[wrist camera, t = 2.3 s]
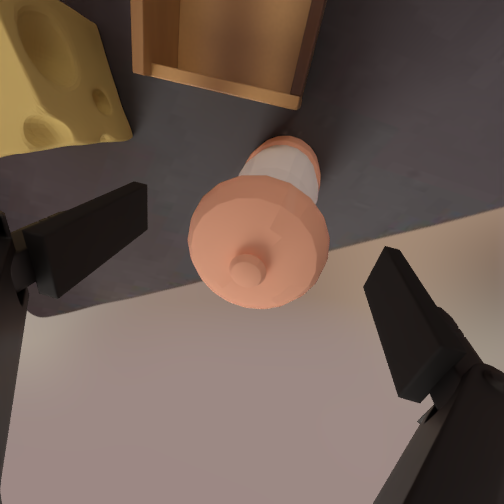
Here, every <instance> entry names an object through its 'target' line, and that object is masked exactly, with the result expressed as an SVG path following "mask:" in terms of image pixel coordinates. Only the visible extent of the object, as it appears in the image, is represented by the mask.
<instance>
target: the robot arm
mask: <svg viewBox="0 0 504 504" xmlns="http://www.w3.org/2000/svg"><path fill="white" fill-rule="evenodd" d="M146 230H147V185H146V184H142V183H138V182H132V183H129V184H127V185H125V186H123V187H120V188H118V189H116V190H113V191H111V192H109V193H106V194H104V195H102V196H100V197H97V198H95V199H93V200H90V201H88V202H86V203H83V204H81V205H79V206H77V207H74V208H72V209H70V210H67V211H63V212H58V213H56V214H53V215H51V216H49V217H47V218H44V219H42V220H39V222H35V223H32V224H30V225H27V226H25V227H23V228H20V229H18V230H16V231H13V232H11V233H10V230H9V226H8V223H7V220H6V217H5V213H4V212H2V211H0V485H1V476H2V469H3V463H4V457H5V450H6V444H7V437H8V430H9V424H10V417H11V410H12V404H13V398H14V390H15V384H16V377H17V371H18V364H19V358H20V352H21V345H22V338H23V332H24V326H25V319H26V312H27V306H28V299H29V292H28V288H27V287H28V286H29V285H31V284H33V283H34V282H36V283H37V287H38V290H39V294H43V295H46V296H50V297H53V298H56V299H58V298H60V297H61V296H62V295H63V294H65V293H66V292H67V291H69V290H70V289H71V288H72V287H74V286H75V285H76V284H78V283H79V282H80V281H81V280H83V279H84V278H85V277H87V276H88V275H89V274H91V273H92V272H93V271H94V270H96V269H97V268H98V267H100V266H101V265H102V264H103V263H105V262H106V261H107V260H109V259H110V258H111V257H112V256H114V255H115V254H116V253H118V252H119V251H120V250H121V249H123V248H124V247H125V246H127V245H128V244H129V243H131V242H132V241H133V240H134V239H136V238H137V237H138V236H140V235H141V234H142V233H143V232H145V231H146ZM363 288H364V291H365V294H366V297H367V300H368V303H369V307H370V310H371V313H372V316H373V319H374V322H375V325H376V328H377V331H378V334H379V338H380V341H381V344H382V347H383V350H384V353H385V356H386V360H387V363H388V366H389V369H390V372H391V375H392V378H393V381H394V385H395V387H396V391H397V394H398V397H400V398H403V399H407V400H411V401H414V402H417V403H421V402H422V401H423V400H424V398H425V397H426V396H427V395H428V394H429V393H430V395H431V397H432V400H433V402H434V405H433V406H432V407H431V408H430V409H429V410H428V411H427V412H426V413H425V414H424V415H423V416H422V417H421V418H420V419H419V420H418V421H417V422H418V423H419V424H420V425H419V427H418V429H417V430H416V432H415V434H414V435H413V437H412V439H411V440H410V442H409V444H408V446H407V447H406V449H405V450H404V452H403V454H402V456H401V457H400V459H399V461H398V462H397V464H396V466H395V468H394V469H393V471H392V472H391V474H390V476H389V478H388V479H387V481H386V482H385V484H384V486H383V488H382V489H381V491H380V493H379V494H378V496H377V498H376V499H375V501H374V503H373V504H504V373H503V372H502V371H500V370H498V369H496V368H494V367H493V366H490V365H487V364H484V363H483V362H482V360H481V359H480V357H479V356H478V354H477V353H476V352H475V350H474V349H473V347H472V346H471V344H470V343H469V342H468V340H467V339H466V337H464V335H463V333H462V331H461V330H460V329H458V326H457V324H456V323H455V322H454V320H453V318H452V317H451V316H450V315H449V314H447V313H446V312H445V311H444V310H443V309H442V308H440V307H437V306H436V305H435V303H434V301H433V300H432V299H431V297H430V295H429V294H428V292H427V291H426V289H425V288H424V286H423V285H422V283H421V282H420V280H419V279H418V277H417V276H416V274H415V273H414V271H413V270H412V268H411V266H410V265H409V263H408V262H407V260H406V259H405V257H404V256H403V254H402V253H401V251H400V250H398V249H394V248H391V247H386V246H385V247H384V249H383V251H382V252H381V254H380V256H379V258H378V260H377V262H376V264H375V266H374V268H373V269H372V271H371V273H370V275H369V277H368V279H367V281H366V283H365V285H364V287H363ZM0 504H2V501H1V495H0Z"/></svg>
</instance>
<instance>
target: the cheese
mask: <svg viewBox="0 0 504 504" xmlns="http://www.w3.org/2000/svg"><path fill="white" fill-rule="evenodd" d="M132 137H133V135H132V131H131V128H130V125H129V123H128V120H127V118H126V116H125V113H124V111H123V108H122V105H121V102H120V99H119V96H118V93H117V89H116V86H115V83H114V80H113V77H112V74H111V71H110V68H109V65H108V61H107V58H106V55H105V52H104V48H103V45H102V41H101V38H100V34H99V31H98V28H97V26H96V24H95V23H93V22H91V21H90V20H88V19H87V18H85V17H84V16H82V15H81V14H79V13H78V12H76V11H75V10H73V9H72V8H70V7H69V6H67V5H65V4H64V3H62V2H60V1H59V0H0V157H5V156H9V155H13V154H20V153H28V152H34V151H41V150H47V149H52V148H57V147H63V146H72V145H87V144H94V143H98V142H119V141H126V140H129V139H131V138H132Z"/></svg>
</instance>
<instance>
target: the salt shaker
mask: <svg viewBox="0 0 504 504" xmlns="http://www.w3.org/2000/svg"><path fill="white" fill-rule="evenodd" d="M320 179H321V173H320V168H319V164H318V160H317V156H316V154H315V153H314V151H313V150H312V148H311V147H310V146H309V145H308V144H306V143H305V142H304V141H303V140H301V139H299V138H296V137H292V136H277V137H274V138H271V139H269V140H267V141H265V142H264V143H263V144H262V145H261V146H259V147H258V148H257V149H256V150H255V151H253V152H252V154H251V155H250V157H249V158H248V160H247V162H246V163H245V166H244V167H243V169H242V171H241V172H240V174H239V176H238V177H236V178H233V179H230V180H227V181H224V182H221V183H219V184H218V185H217V186H215V187H214V188H213V189H212V190H211V191H209V192H208V193H207V194H206V195H204V196H203V197H202V199H201V201H200V203H199V204H198V206H197V208H196V210H195V211H194V213H193V215H192V219H191V223H190V229H189V235H188V244H189V250H190V255H191V259H192V262H193V264H194V266H195V268H196V270H197V272H198V273H199V275H200V277H201V279H202V280H203V282H204V283H205V284H206V285H207V286H208V287H209V288H210V289H211V290H212V291H213V292H214V293H216V294H217V295H219V296H220V297H222V298H223V299H225V300H226V301H228V302H231V303H233V304H236V305H239V306H242V307H245V308H256V309H267V308H273V307H280V306H282V305H284V304H286V303H288V302H291V301H293V300H295V299H297V298H299V297H301V296H303V295H304V294H305V293H306V292H307V291H308V290H309V289H310V288H311V287H312V286H313V285H314V284H315V283H316V282H317V280H318V278H319V276H320V274H321V272H322V270H323V268H324V266H325V264H326V262H327V259H328V250H329V241H330V238H329V234H328V230H327V227H326V223H325V219H324V217H323V215H322V214H321V212H320V211H319V209H318V208H317V207H316V205H315V204H316V202H317V200H318V191H319V188H320Z"/></svg>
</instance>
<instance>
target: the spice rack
mask: <svg viewBox="0 0 504 504" xmlns="http://www.w3.org/2000/svg"><path fill="white" fill-rule="evenodd" d="M326 2H327V0H130V3H131V35H132V66H133V73H136V74H141V75H145V76H151V77H155V78H159V79H164V80H168V81H172V82H177V83H181V84H185V85H189V86H194V87H198V88H202V89H207V90H211V91H215V92H219V93H224V94H228V95H232V96H237V97H241V98H245V99H249V100H254V101H258V102H262V103H267V104H271V105H275V106H279V107H284V108H288V109H292V110H298V109H300V107H301V103H302V99H301V98H302V96H303V92H304V88H305V84H306V80H307V77H308V73H309V69H310V65H311V61H312V57H313V53H314V49H315V45H316V41H317V37H318V34H319V30H320V26H321V22H322V18H323V14H324V10H325V6H326Z"/></svg>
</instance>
